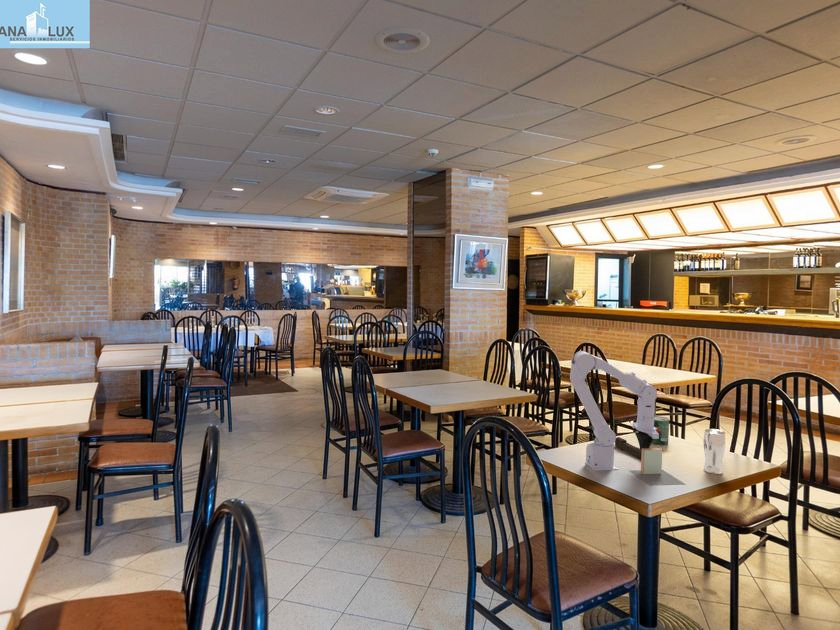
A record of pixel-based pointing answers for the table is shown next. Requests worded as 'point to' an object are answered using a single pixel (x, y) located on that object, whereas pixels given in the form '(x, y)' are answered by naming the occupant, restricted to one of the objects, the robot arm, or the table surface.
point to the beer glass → (714, 450)
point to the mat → (658, 478)
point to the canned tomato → (661, 430)
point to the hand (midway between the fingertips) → (644, 452)
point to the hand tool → (627, 447)
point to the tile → (651, 461)
